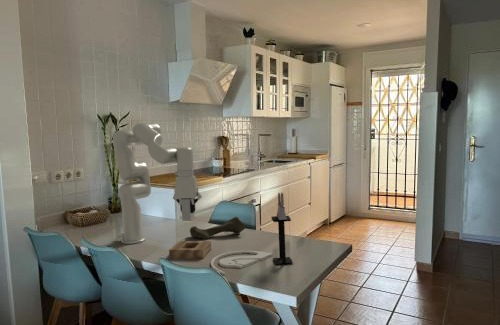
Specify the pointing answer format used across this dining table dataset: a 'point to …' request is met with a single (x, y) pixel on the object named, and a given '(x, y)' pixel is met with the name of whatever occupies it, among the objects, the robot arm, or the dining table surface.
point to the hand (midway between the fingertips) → (188, 212)
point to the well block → (190, 250)
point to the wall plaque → (239, 259)
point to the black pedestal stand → (281, 232)
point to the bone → (218, 229)
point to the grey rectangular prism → (186, 210)
